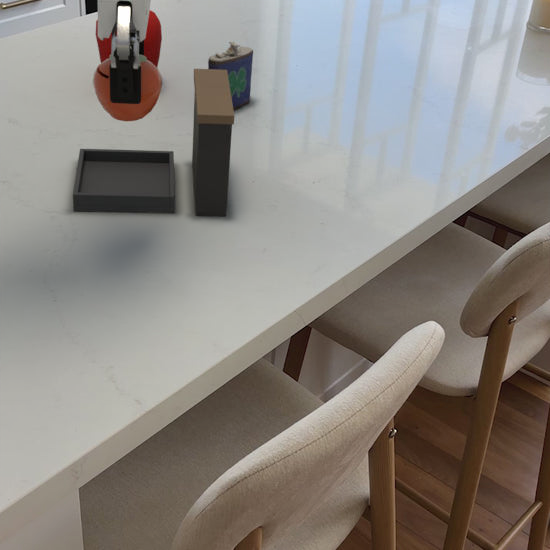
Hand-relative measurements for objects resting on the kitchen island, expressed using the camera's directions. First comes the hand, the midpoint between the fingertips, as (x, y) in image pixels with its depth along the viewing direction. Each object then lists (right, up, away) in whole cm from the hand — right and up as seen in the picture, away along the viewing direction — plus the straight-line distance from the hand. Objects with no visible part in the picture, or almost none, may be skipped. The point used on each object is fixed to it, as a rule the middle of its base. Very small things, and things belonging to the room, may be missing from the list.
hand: (127, 86), depth 97 cm
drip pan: (-4, -9, +21) cm, 24 cm away
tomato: (0, -3, +2) cm, 4 cm away
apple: (-8, +10, +49) cm, 51 cm away
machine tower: (+7, -9, +23) cm, 26 cm away
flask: (+9, +6, +46) cm, 47 cm away
